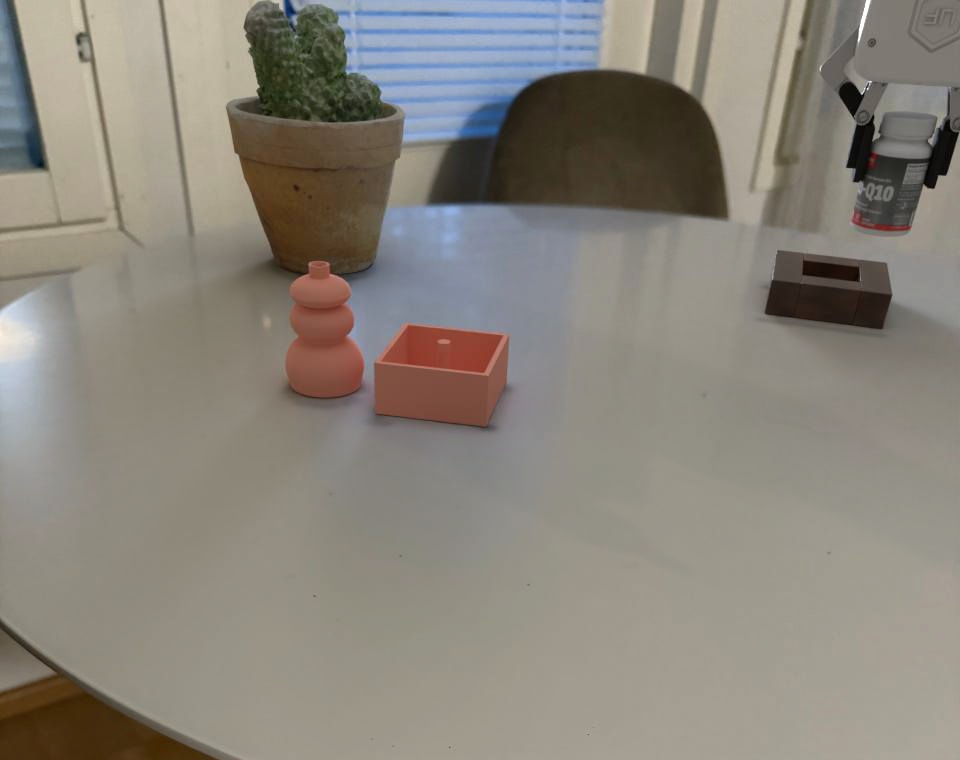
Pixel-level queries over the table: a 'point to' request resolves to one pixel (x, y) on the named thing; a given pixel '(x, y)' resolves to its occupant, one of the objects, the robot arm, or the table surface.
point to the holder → (829, 289)
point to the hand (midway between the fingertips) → (892, 179)
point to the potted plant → (314, 142)
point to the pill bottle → (894, 174)
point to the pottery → (393, 358)
